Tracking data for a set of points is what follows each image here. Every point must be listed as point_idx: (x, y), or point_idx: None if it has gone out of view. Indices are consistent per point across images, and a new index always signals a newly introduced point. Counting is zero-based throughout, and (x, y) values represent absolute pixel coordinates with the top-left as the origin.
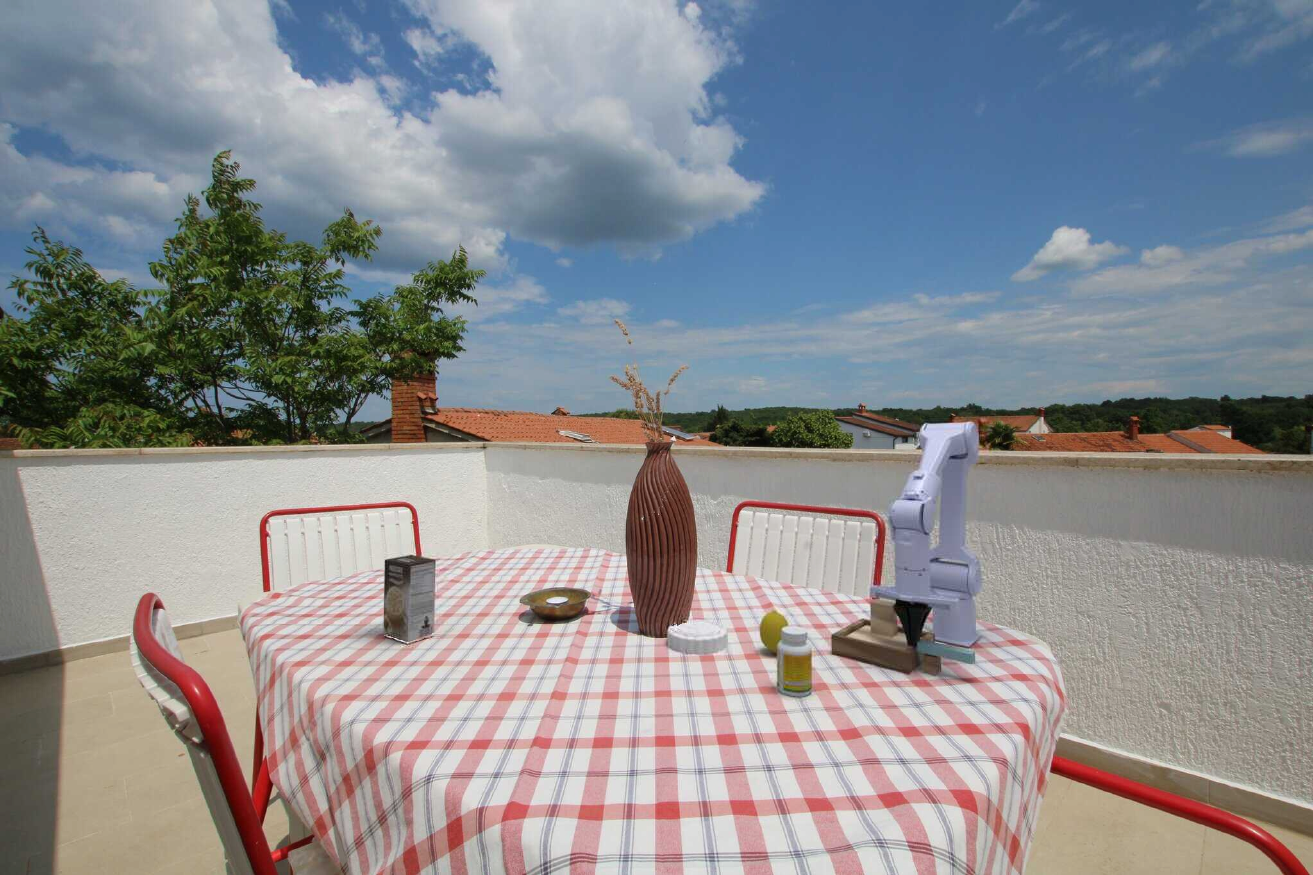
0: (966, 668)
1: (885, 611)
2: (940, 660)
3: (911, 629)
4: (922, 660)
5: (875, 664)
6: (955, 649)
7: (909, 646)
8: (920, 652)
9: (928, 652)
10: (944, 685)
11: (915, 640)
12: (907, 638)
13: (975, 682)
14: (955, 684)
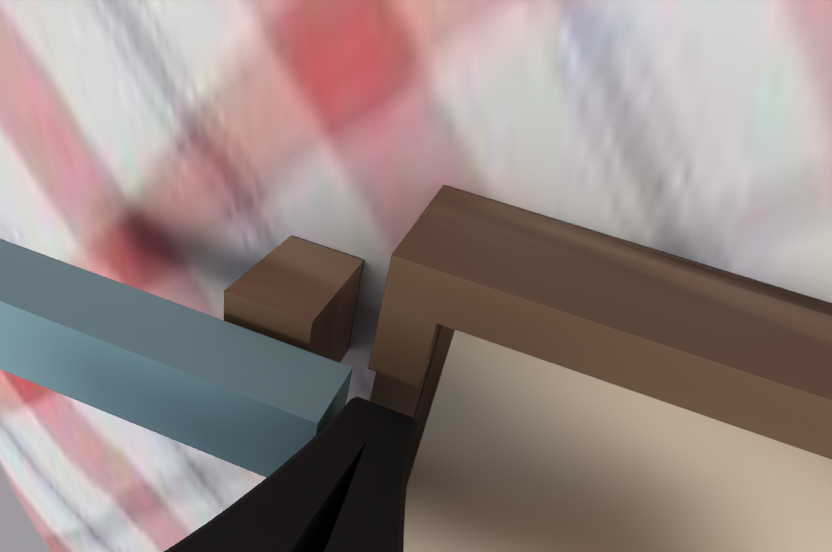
0: None
1: None
2: None
3: (299, 529)
4: None
5: (708, 271)
6: (41, 344)
7: (434, 482)
8: None
9: (262, 344)
10: (214, 92)
11: (321, 431)
12: (393, 457)
13: (112, 229)
14: (173, 146)
